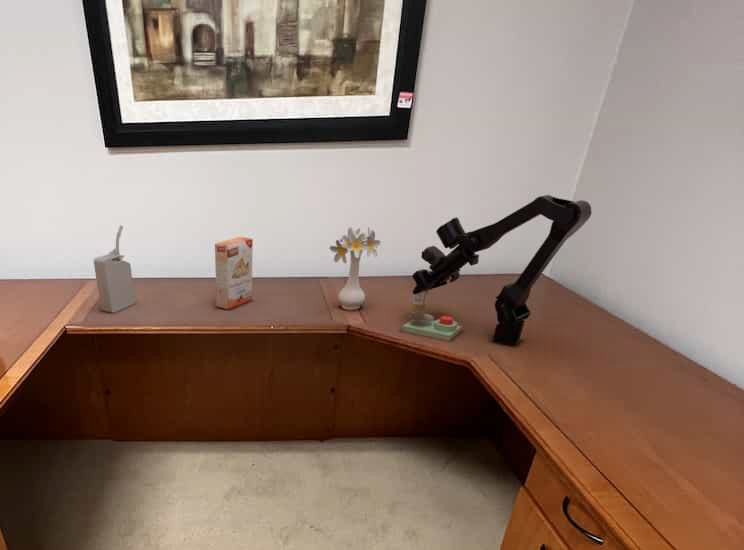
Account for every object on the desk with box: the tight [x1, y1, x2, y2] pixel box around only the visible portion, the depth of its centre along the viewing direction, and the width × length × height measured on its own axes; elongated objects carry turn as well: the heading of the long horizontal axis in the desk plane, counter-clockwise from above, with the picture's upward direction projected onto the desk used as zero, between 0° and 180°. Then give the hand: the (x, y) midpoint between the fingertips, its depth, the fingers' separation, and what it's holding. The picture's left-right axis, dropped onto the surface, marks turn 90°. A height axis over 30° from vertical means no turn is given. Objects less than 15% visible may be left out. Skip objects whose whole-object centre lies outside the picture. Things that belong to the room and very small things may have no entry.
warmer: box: [401, 318, 462, 342], centre depth 172 cm, size 15×10×4 cm, turn 53°
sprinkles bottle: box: [410, 268, 432, 314], centre depth 180 cm, size 5×5×14 cm
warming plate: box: [409, 313, 434, 322], centre depth 173 cm, size 7×7×1 cm
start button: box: [440, 315, 454, 325], centre depth 169 cm, size 4×4×2 cm
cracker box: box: [214, 236, 254, 310], centre depth 192 cm, size 14×6×21 cm, turn 143°
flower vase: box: [329, 226, 381, 311], centre depth 185 cm, size 13×18×25 cm
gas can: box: [93, 224, 136, 314], centre depth 190 cm, size 15×5×25 cm, turn 150°
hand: (417, 291), depth 181 cm, fingers closed on sprinkles bottle, 4 cm apart
